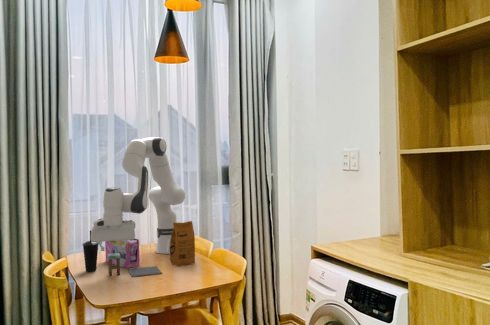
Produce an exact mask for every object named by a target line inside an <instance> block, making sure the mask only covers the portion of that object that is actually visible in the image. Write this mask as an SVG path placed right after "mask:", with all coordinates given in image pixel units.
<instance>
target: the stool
mask: <svg viewBox="0 0 490 325" xmlns="http://www.w3.org/2000/svg"><path fill="white" fill-rule="evenodd" d="M108 259H109V262H108V276H109V277H112V276H113V270H116V274H117V276H120V275H121V269H120V268H121V266H120V254H119V253H114V254H108ZM112 259H116V265H115V264H112Z"/></svg>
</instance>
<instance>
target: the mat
mask: <svg viewBox="0 0 490 325" xmlns="http://www.w3.org/2000/svg"><path fill="white" fill-rule="evenodd" d="M127 271H128V273H129V275H130V276H131V278H138V277H146V276H155V275H162V274H163V273H162V271H161V270H160V269H159V267H158V266H156V265H155V266H145V267H144V266H143V267H136V268H134V267H133V268H127Z"/></svg>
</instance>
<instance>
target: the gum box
mask: <svg viewBox="0 0 490 325" xmlns="http://www.w3.org/2000/svg"><path fill="white" fill-rule="evenodd" d="M124 243H125V242H124V240H118V241H104V245H105V246H104V248H105V249H104V252H105V262H106V263H109V259H108V254H114V253H119V254H120V268H122V267H123V268H125V269H131V268H134V267H139V266H140V263H141V262H140V239H138V238H134V239H132V240H128V242H127V244H126V246H125V249H123V250H122V245H124ZM112 265H116V259H112Z"/></svg>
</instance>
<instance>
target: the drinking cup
mask: <svg viewBox="0 0 490 325" xmlns="http://www.w3.org/2000/svg"><path fill="white" fill-rule="evenodd" d="M91 231H92V230H89V240H88V241H85V242H83V243H82V247H83V257H84V266H85V267H84V268H85V272H86V273H93V272H96V271H97V265H98V264H97V263H98V253H99V242H92V241H91Z"/></svg>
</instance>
